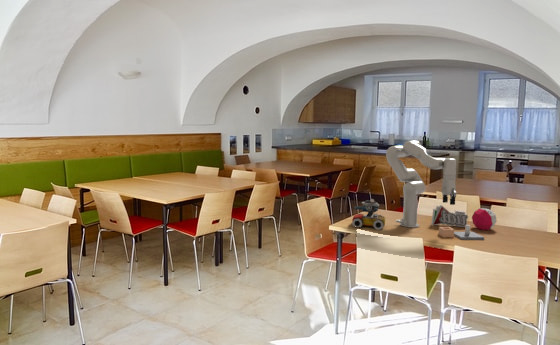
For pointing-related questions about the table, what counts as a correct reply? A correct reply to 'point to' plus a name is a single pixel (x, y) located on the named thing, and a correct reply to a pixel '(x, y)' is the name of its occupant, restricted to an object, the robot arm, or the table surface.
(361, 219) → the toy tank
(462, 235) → the post stand
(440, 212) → the decorative sign
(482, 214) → the decorative object
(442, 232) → the collar
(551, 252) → the table surface
